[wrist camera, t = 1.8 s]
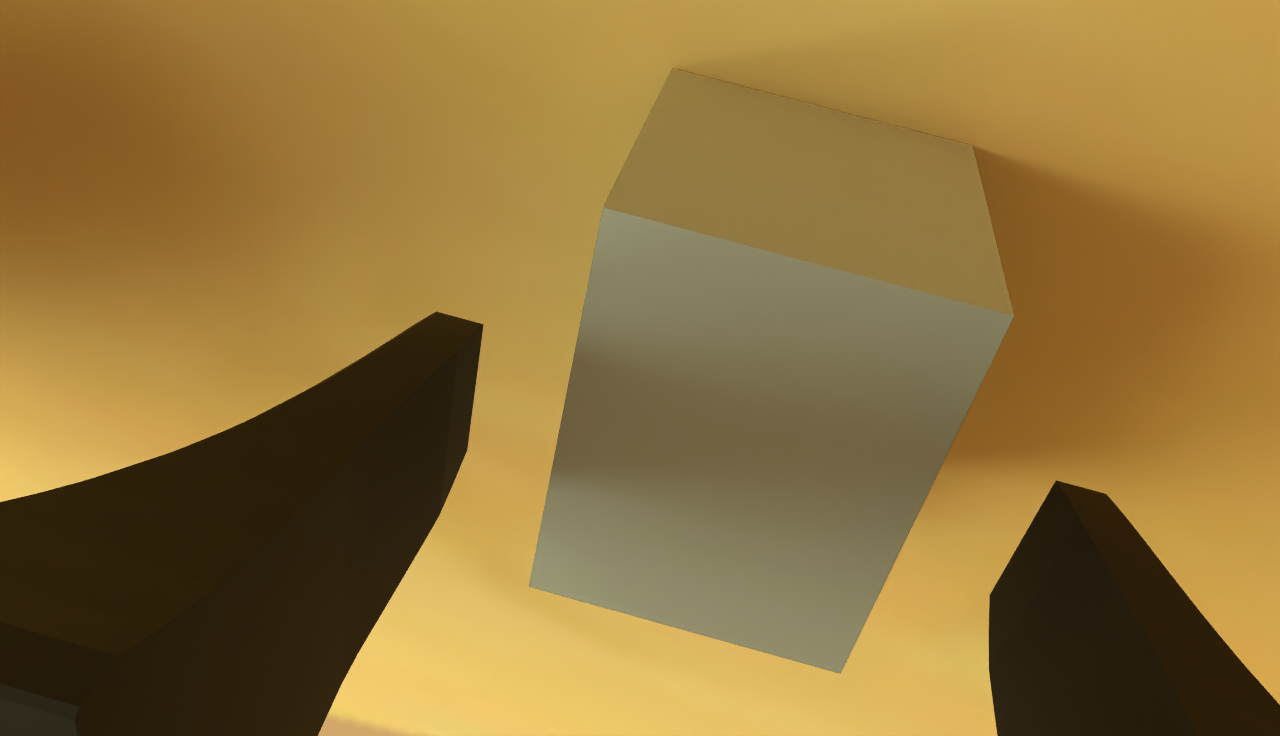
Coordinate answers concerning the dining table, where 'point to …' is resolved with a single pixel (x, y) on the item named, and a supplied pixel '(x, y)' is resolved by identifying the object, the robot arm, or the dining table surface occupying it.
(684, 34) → the dining table surface
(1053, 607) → the robot arm
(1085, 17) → the dining table surface
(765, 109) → the grey block
